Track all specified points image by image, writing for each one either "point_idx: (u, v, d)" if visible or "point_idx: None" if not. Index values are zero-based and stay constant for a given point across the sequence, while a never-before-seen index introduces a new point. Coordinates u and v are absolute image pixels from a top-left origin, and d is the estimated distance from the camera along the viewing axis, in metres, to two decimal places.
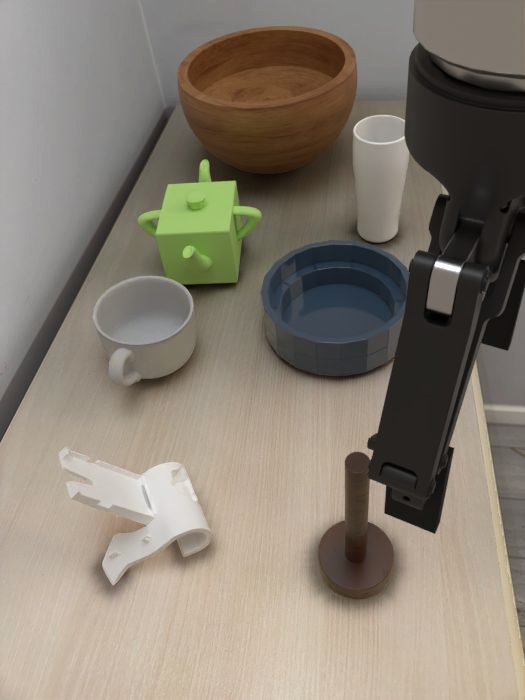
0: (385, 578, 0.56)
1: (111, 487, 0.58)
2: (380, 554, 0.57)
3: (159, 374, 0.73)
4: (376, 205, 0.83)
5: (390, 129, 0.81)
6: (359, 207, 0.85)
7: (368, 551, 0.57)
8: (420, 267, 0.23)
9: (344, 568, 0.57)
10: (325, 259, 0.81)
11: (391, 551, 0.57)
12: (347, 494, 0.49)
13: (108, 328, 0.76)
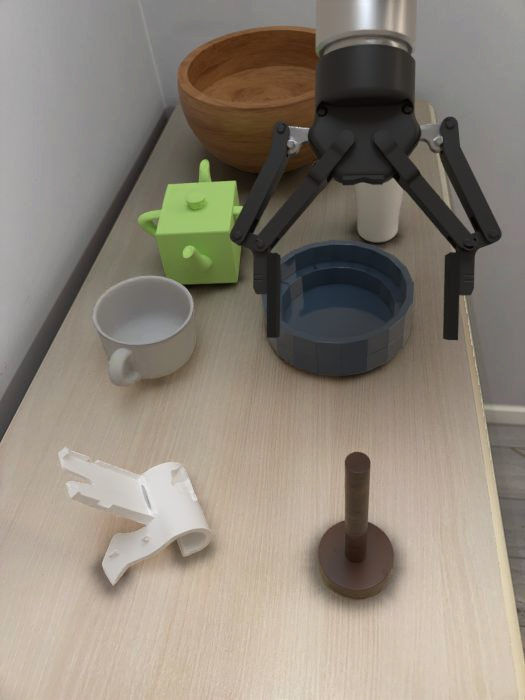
0: (385, 578, 0.56)
1: (111, 487, 0.58)
2: (380, 554, 0.57)
3: (159, 374, 0.73)
4: (376, 205, 0.83)
5: None
6: (359, 207, 0.85)
7: (368, 551, 0.57)
8: None
9: (344, 568, 0.57)
10: (325, 259, 0.81)
11: (391, 551, 0.57)
12: (347, 494, 0.49)
13: (108, 328, 0.76)
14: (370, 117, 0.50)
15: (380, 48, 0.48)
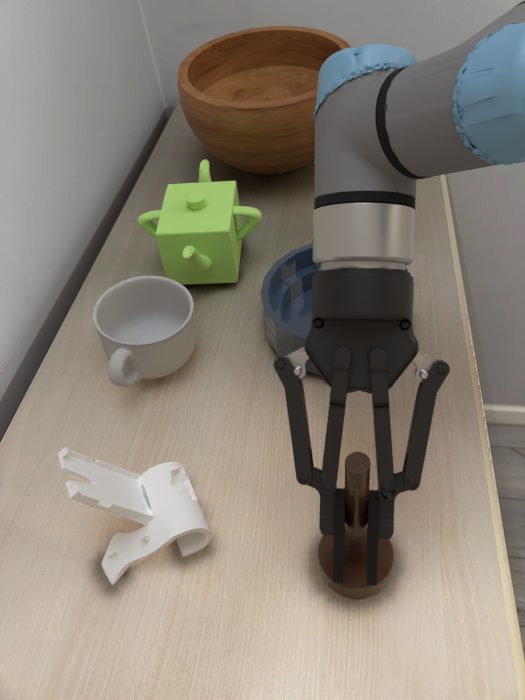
0: (385, 578, 0.56)
1: (111, 487, 0.58)
2: (380, 554, 0.57)
3: (159, 374, 0.73)
4: None
5: None
6: None
7: None
8: None
9: (344, 568, 0.57)
10: None
11: (391, 551, 0.57)
12: (347, 494, 0.49)
13: (108, 328, 0.76)
14: (367, 332, 0.50)
15: (376, 274, 0.47)
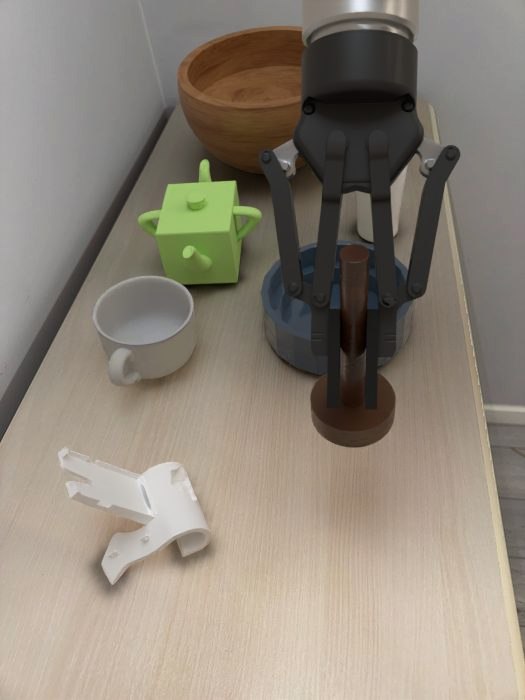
0: (386, 421, 0.49)
1: (110, 487, 0.58)
2: (380, 398, 0.51)
3: (159, 374, 0.73)
4: None
5: None
6: (359, 207, 0.85)
7: None
8: None
9: (339, 412, 0.50)
10: None
11: (393, 395, 0.51)
12: (342, 301, 0.43)
13: (108, 328, 0.76)
14: (365, 116, 0.43)
15: (375, 34, 0.41)
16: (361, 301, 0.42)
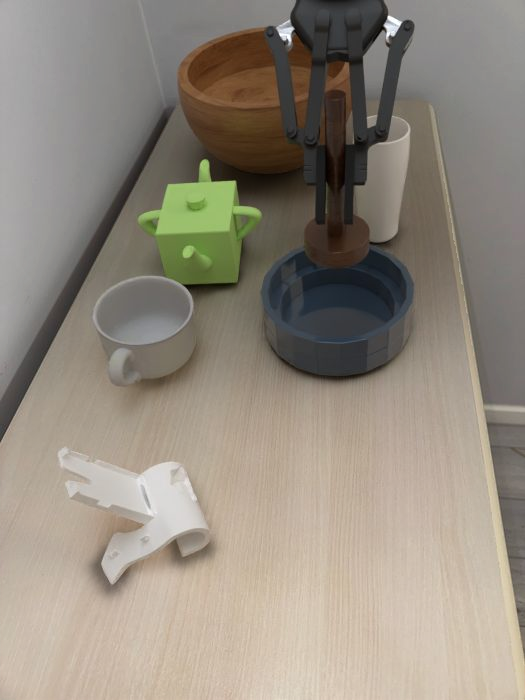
0: (362, 246, 0.64)
1: (110, 486, 0.58)
2: (358, 231, 0.65)
3: (159, 374, 0.73)
4: (376, 205, 0.83)
5: (390, 129, 0.81)
6: (359, 207, 0.85)
7: (347, 230, 0.66)
8: None
9: (326, 241, 0.65)
10: None
11: (367, 229, 0.65)
12: (327, 136, 0.57)
13: (108, 328, 0.76)
14: None
15: None
16: (340, 135, 0.57)
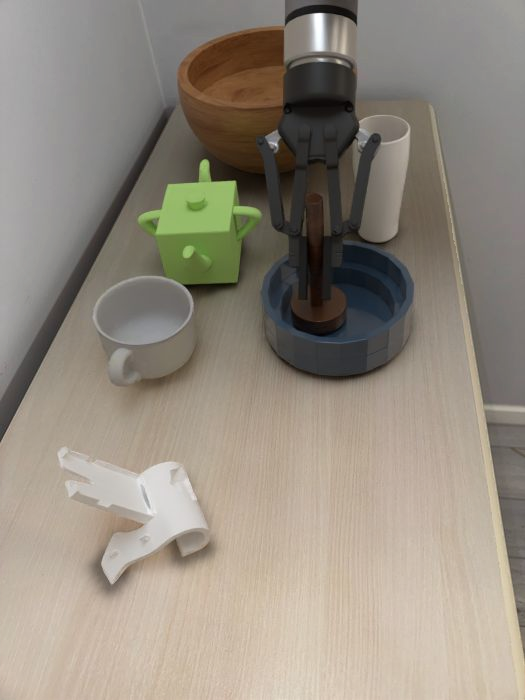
0: (339, 315, 0.75)
1: (110, 486, 0.58)
2: (336, 301, 0.76)
3: (159, 374, 0.73)
4: (376, 205, 0.83)
5: (390, 129, 0.81)
6: None
7: (327, 300, 0.77)
8: None
9: (309, 310, 0.76)
10: None
11: (345, 299, 0.76)
12: (307, 230, 0.69)
13: (108, 328, 0.76)
14: (322, 115, 0.69)
15: (327, 65, 0.66)
16: (319, 229, 0.68)
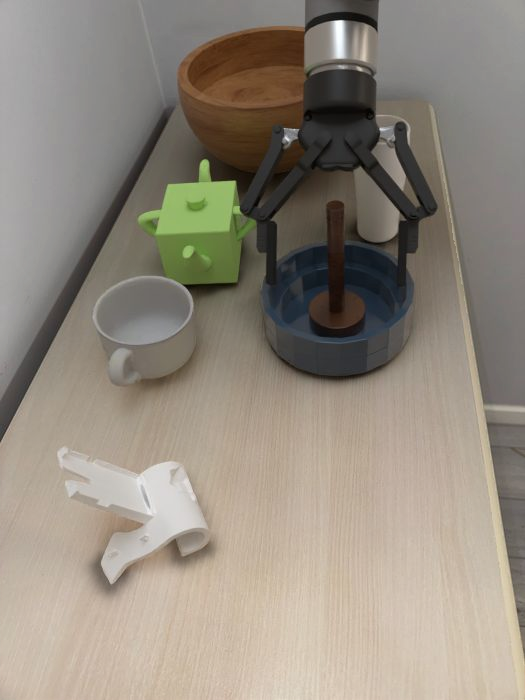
0: (358, 322, 0.75)
1: (110, 486, 0.58)
2: (355, 308, 0.76)
3: (159, 374, 0.73)
4: (376, 205, 0.83)
5: None
6: (359, 207, 0.85)
7: (346, 306, 0.76)
8: None
9: (328, 317, 0.76)
10: (325, 259, 0.81)
11: (363, 306, 0.76)
12: (328, 237, 0.68)
13: (108, 328, 0.76)
14: (343, 122, 0.69)
15: (348, 72, 0.66)
16: (340, 236, 0.68)
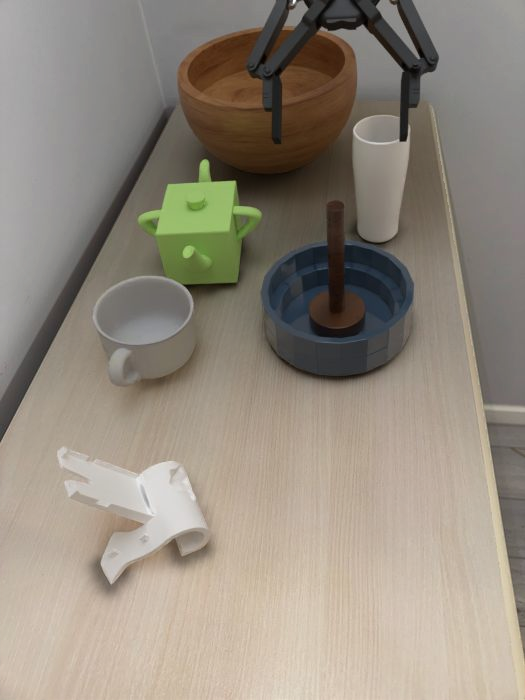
0: (358, 322, 0.75)
1: (109, 486, 0.58)
2: (355, 308, 0.76)
3: (159, 374, 0.73)
4: (376, 205, 0.83)
5: (390, 129, 0.81)
6: (359, 207, 0.85)
7: (346, 306, 0.76)
8: None
9: (328, 317, 0.76)
10: (325, 259, 0.81)
11: (363, 306, 0.76)
12: (328, 237, 0.68)
13: (108, 328, 0.76)
14: None
15: None
16: (340, 236, 0.68)
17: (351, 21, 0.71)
